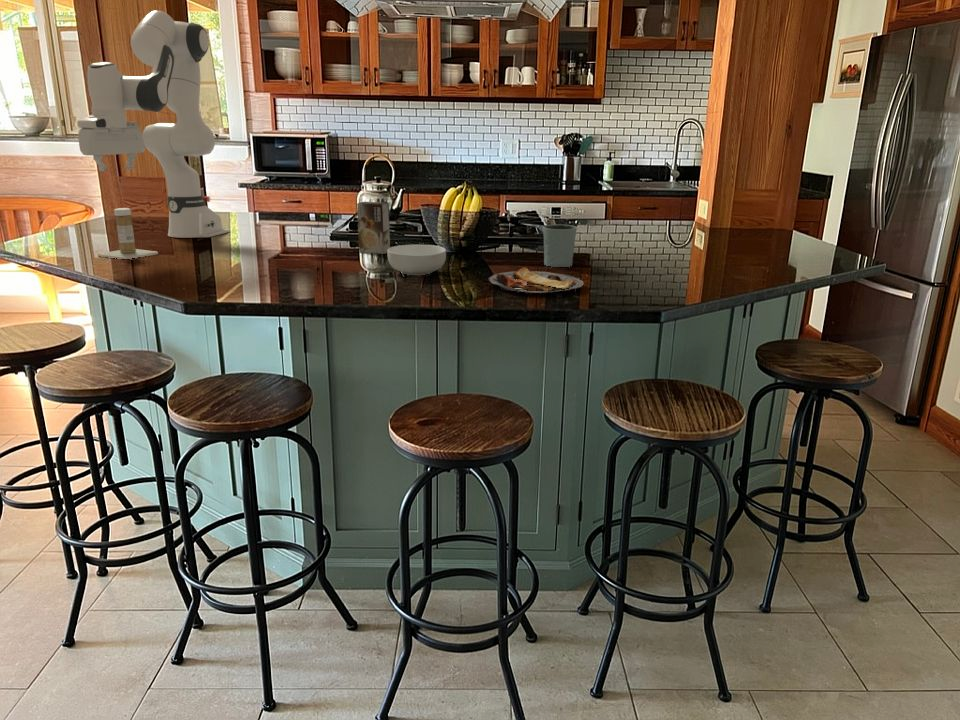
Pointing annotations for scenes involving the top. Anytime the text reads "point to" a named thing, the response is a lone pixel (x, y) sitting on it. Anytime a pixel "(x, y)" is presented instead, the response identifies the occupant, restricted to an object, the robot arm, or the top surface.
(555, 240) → the grey tapered cup
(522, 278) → the food plate
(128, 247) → the sprinkles bottle
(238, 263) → the top surface
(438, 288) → the top surface
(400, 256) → the cereal bowl
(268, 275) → the top surface
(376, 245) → the coffee box
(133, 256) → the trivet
